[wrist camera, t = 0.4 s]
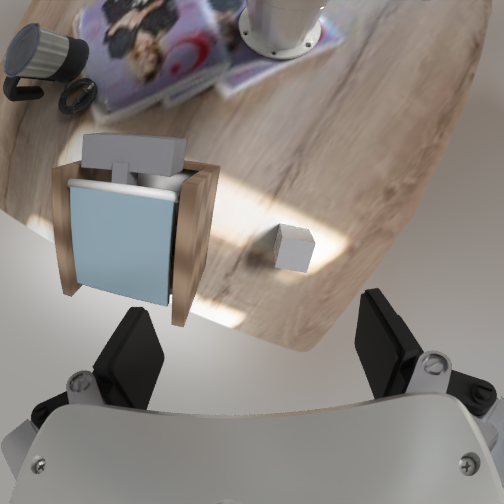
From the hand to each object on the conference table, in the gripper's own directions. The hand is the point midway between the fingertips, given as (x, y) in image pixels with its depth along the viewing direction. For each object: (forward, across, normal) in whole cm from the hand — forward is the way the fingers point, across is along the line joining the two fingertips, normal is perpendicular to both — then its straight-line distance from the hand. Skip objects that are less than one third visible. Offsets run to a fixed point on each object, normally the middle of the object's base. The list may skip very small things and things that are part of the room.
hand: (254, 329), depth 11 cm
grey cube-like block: (+34, -5, +9) cm, 35 cm away
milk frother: (+33, +30, -28) cm, 53 cm away
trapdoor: (+24, +16, -1) cm, 29 cm away
